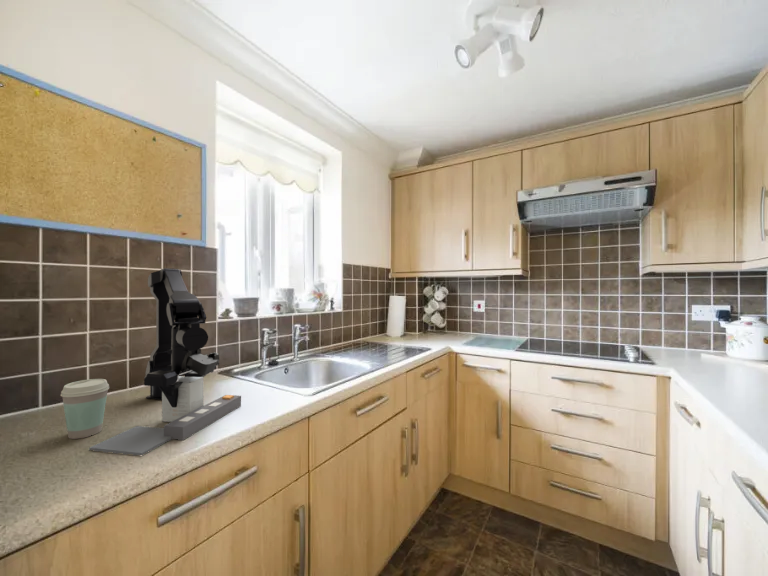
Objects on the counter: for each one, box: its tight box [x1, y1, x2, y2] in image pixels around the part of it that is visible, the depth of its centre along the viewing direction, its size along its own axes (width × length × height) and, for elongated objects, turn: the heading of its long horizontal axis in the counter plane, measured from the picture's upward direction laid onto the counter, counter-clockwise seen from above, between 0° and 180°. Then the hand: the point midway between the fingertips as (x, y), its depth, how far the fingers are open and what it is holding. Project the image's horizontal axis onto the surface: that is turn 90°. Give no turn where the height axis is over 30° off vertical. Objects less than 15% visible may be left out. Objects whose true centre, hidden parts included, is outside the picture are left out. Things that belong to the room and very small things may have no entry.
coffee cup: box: [60, 378, 110, 440], centre depth 76 cm, size 8×8×12 cm
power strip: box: [163, 394, 242, 441], centre depth 84 cm, size 5×22×4 cm, turn 171°
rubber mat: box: [88, 425, 172, 456], centre depth 72 cm, size 13×11×1 cm
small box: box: [161, 375, 205, 423], centre depth 85 cm, size 8×6×10 cm
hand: (183, 403), depth 85 cm, fingers closed on small box, 6 cm apart
